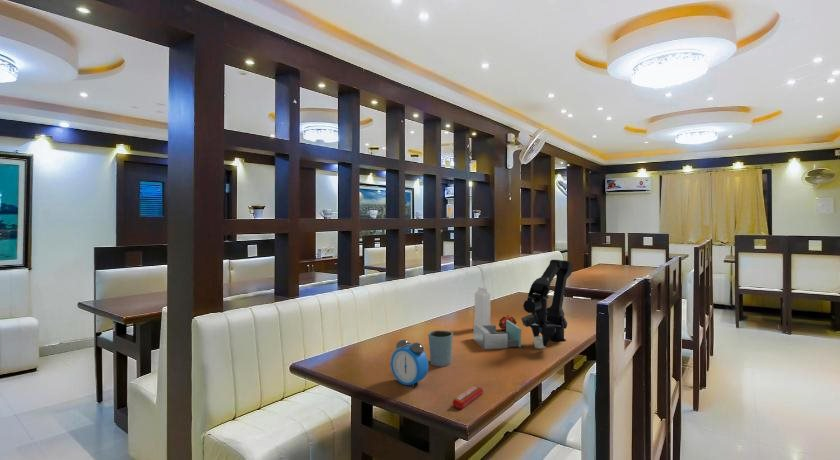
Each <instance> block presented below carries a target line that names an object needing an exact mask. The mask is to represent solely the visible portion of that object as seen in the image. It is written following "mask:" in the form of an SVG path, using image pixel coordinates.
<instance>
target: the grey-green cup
mask: <svg viewBox="0 0 840 460" xmlns="http://www.w3.org/2000/svg"><path fill="white" fill-rule="evenodd" d="M453 336H454V333H453V332H451V331H448V330H433V331H429V332H428V336H427V337H428V345H429V362H430V364H431V365H433V366H435V367H448V366H450V365H451V364H452V353H453V351H452V350H453Z"/></svg>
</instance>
